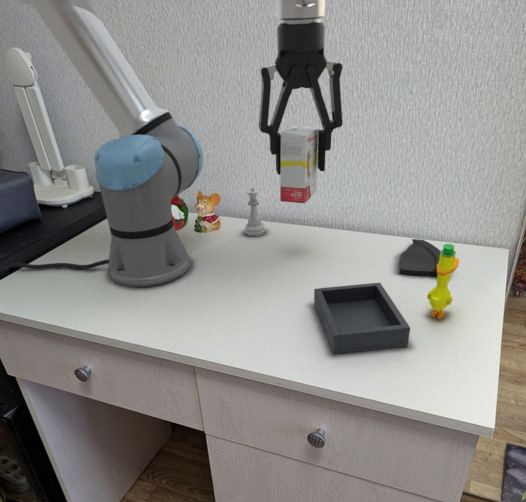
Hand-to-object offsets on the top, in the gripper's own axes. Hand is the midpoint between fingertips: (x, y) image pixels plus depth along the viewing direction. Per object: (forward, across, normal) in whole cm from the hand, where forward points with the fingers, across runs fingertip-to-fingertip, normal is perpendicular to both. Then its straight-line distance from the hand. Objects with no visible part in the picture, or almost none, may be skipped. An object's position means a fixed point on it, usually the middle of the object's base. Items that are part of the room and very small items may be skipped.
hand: (300, 170), depth 91 cm
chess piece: (+16, -8, +12) cm, 22 cm away
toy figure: (+16, +17, -29) cm, 37 cm away
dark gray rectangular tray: (+16, +4, -29) cm, 33 cm away
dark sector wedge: (+16, +22, -10) cm, 29 cm away
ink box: (+5, 0, 0) cm, 5 cm away
